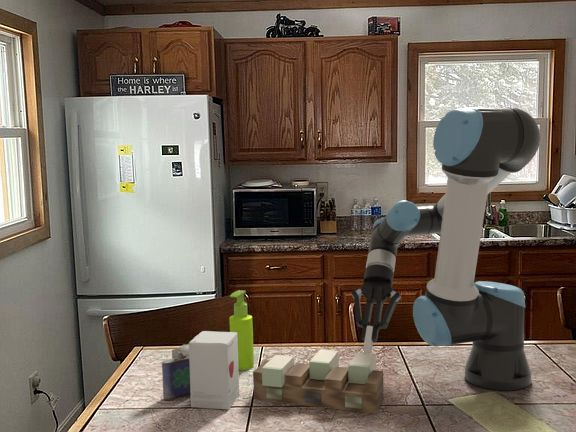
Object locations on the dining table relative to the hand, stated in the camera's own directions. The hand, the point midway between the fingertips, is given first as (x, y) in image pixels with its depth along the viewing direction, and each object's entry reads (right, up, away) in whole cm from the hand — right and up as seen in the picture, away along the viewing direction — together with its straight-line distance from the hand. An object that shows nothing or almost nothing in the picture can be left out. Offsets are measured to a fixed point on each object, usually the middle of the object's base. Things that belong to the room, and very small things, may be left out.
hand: (367, 352), depth 156 cm
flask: (-44, -9, -7) cm, 45 cm away
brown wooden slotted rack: (-12, -8, -12) cm, 19 cm away
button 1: (-21, -4, -10) cm, 24 cm away
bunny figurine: (-45, -6, +13) cm, 48 cm away
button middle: (-11, -3, -7) cm, 13 cm away
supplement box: (-36, -9, -11) cm, 38 cm away
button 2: (-2, -3, -10) cm, 11 cm away
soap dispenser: (-31, -6, +10) cm, 34 cm away
